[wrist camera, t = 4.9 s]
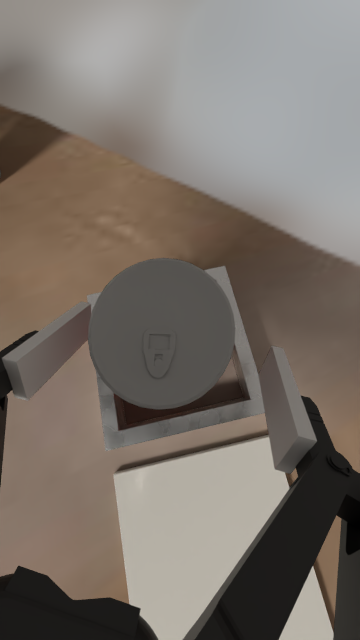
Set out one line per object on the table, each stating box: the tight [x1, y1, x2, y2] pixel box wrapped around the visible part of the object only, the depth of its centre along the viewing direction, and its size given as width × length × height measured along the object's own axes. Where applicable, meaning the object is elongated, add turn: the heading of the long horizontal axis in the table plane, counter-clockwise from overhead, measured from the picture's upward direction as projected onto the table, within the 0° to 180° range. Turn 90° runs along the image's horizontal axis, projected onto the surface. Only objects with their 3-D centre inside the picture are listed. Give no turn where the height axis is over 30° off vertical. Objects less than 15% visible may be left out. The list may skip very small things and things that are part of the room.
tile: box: [114, 435, 334, 640], centre depth 17 cm, size 14×14×1 cm
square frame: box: [87, 266, 265, 451], centre depth 21 cm, size 13×13×2 cm
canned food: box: [88, 258, 235, 410], centre depth 17 cm, size 8×8×11 cm
